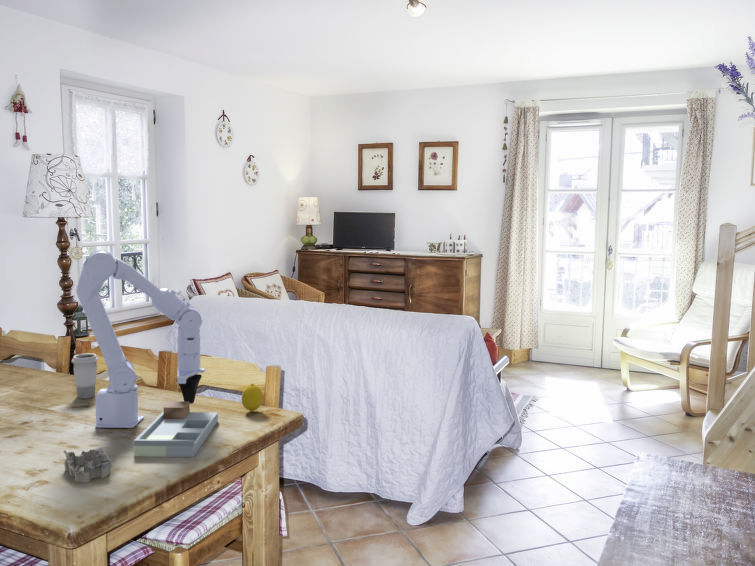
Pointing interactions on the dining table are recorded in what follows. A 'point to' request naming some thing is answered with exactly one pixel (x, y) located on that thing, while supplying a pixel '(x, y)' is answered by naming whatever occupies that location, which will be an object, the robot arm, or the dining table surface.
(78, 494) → the dining table surface
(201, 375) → the robot arm
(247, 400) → the lemon
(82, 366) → the cup
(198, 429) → the trap tray
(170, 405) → the walnut block
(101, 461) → the grey toy castle
